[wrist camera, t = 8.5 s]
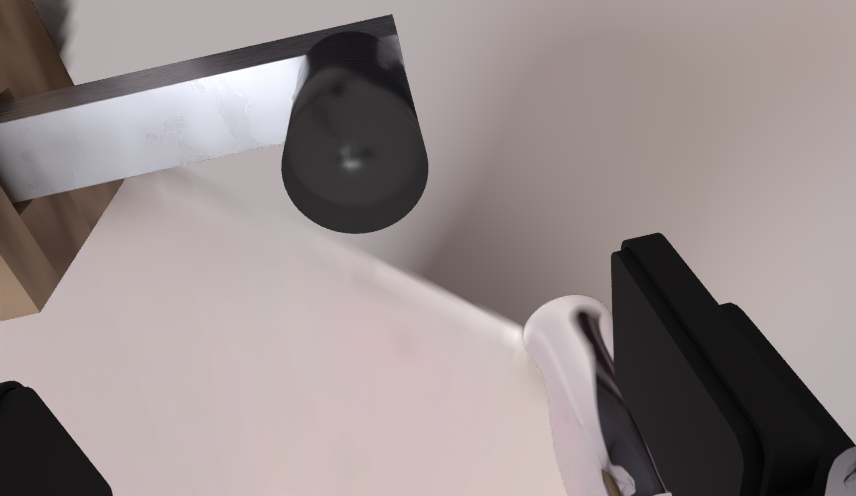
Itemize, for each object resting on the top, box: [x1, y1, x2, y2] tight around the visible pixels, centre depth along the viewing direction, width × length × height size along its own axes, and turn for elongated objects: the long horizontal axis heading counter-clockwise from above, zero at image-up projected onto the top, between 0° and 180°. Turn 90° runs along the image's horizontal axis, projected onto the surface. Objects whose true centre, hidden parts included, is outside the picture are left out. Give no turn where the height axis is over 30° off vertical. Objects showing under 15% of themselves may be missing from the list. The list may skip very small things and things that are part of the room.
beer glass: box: [523, 295, 672, 496], centre depth 36 cm, size 7×7×15 cm
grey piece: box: [0, 14, 428, 234], centre depth 22 cm, size 4×19×10 cm, turn 101°
